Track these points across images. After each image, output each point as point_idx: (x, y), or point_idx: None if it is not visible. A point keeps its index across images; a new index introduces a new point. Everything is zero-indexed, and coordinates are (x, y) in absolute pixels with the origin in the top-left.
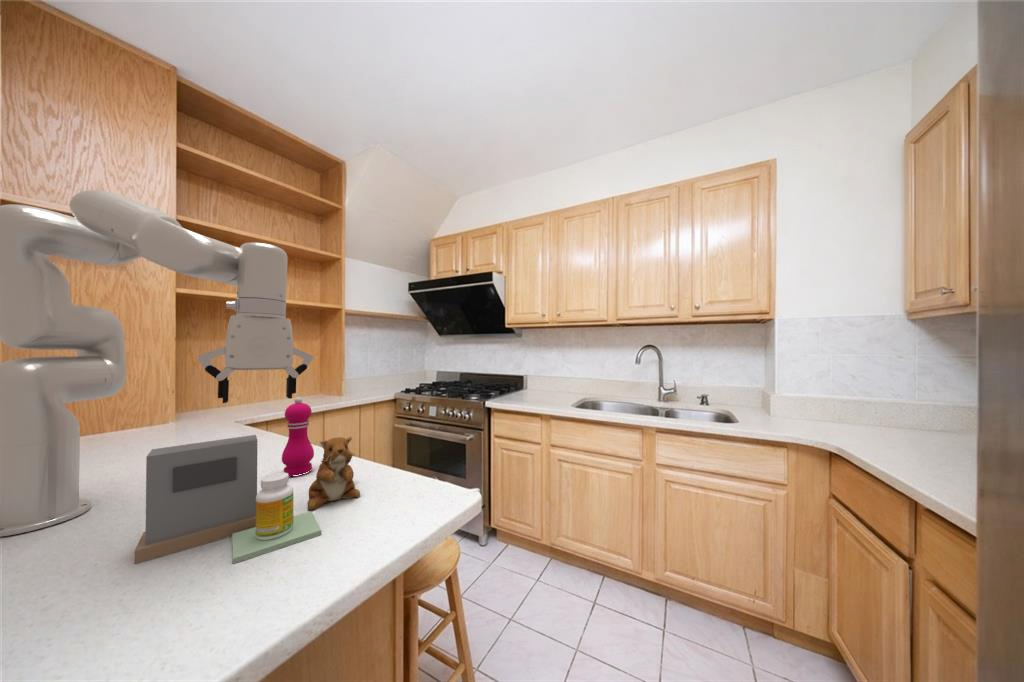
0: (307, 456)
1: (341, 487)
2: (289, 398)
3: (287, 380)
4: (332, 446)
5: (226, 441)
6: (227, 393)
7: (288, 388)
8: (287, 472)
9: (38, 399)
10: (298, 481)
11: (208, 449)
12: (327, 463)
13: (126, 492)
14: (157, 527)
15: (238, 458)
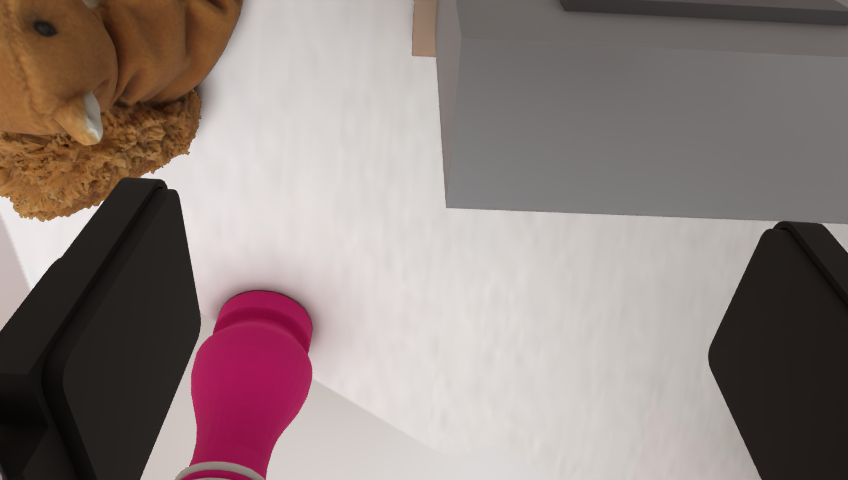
0: (218, 341)
1: None
2: (159, 184)
3: (106, 431)
4: (21, 26)
5: (614, 141)
6: (826, 288)
7: (122, 261)
8: (299, 318)
9: None
10: (269, 245)
11: (727, 46)
12: (102, 19)
13: (676, 446)
14: None
15: (552, 8)
